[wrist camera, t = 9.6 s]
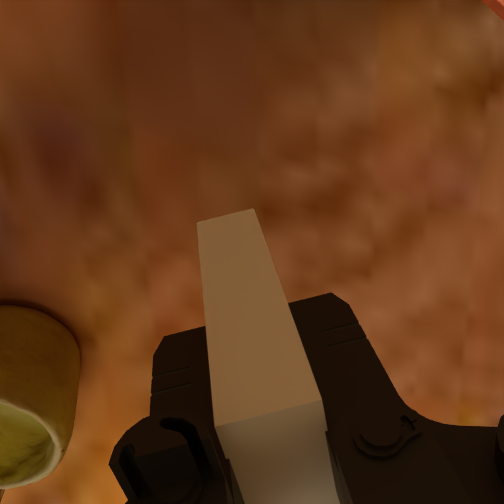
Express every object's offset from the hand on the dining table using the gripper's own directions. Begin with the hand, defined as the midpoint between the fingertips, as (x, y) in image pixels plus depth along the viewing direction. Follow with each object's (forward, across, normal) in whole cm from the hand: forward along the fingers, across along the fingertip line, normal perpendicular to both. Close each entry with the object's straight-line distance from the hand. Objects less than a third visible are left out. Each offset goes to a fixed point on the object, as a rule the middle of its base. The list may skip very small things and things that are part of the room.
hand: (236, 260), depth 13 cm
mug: (+18, -17, -14) cm, 29 cm away
